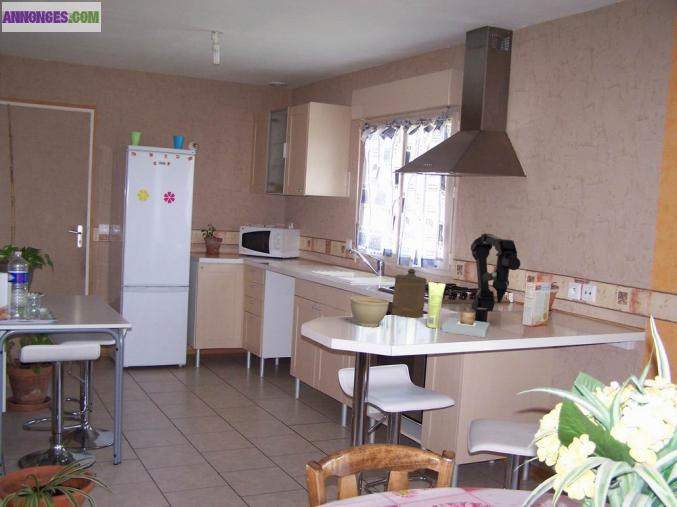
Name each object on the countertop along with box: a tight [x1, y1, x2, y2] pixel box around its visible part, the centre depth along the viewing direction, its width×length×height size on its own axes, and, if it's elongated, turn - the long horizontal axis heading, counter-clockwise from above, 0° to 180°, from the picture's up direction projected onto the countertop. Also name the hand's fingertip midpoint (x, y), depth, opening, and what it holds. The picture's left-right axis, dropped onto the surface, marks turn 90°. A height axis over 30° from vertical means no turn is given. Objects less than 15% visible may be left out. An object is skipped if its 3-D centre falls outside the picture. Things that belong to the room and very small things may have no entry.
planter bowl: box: [350, 296, 390, 328], centre depth 298 cm, size 16×16×11 cm
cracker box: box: [521, 281, 552, 328], centre depth 340 cm, size 14×6×21 cm, turn 134°
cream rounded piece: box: [460, 310, 475, 325], centre depth 307 cm, size 6×6×8 cm
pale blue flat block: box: [441, 317, 491, 338], centre depth 307 cm, size 22×18×3 cm
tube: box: [426, 281, 447, 329], centre depth 307 cm, size 6×5×20 cm
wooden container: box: [391, 268, 427, 319], centre depth 335 cm, size 15×15×22 cm
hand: (498, 302), depth 314 cm, fingers closed
